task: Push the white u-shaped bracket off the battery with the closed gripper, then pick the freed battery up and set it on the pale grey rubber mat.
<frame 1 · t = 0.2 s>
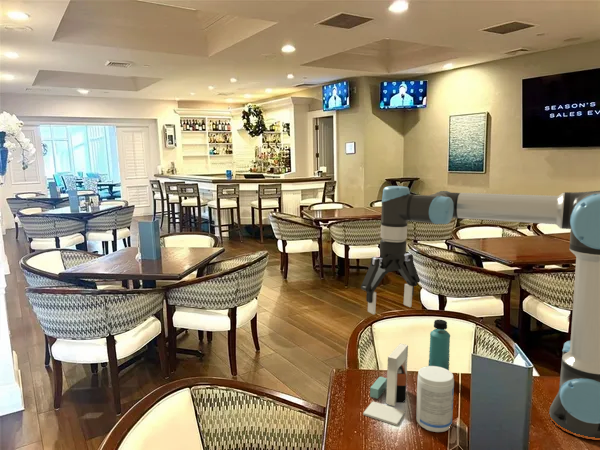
hand: (389, 309, 133), 28 cm above the table, tool pointing down, fingers open, 13 cm apart
supplement tub: (433, 423, 124), on the table
battery: (396, 397, 137), on the table
beverage bottle: (437, 379, 148), on the table
mat: (384, 413, 128), on the table
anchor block: (378, 391, 139), on the table
white u-shaped bracket: (397, 373, 135), point 8 cm above the table, slide at 0.0 cm
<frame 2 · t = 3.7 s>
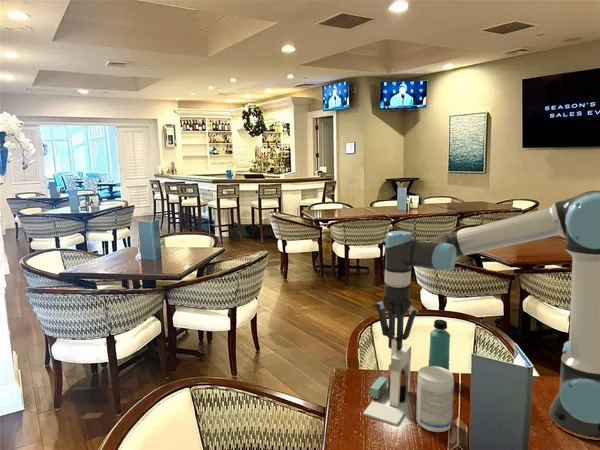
hand: (394, 358, 135), 12 cm above the table, tool pointing down, fingers closed
white u-shaped bracket: (400, 374, 135), point 8 cm above the table, slide at 1.1 cm, touching gripper
everything else where it was.
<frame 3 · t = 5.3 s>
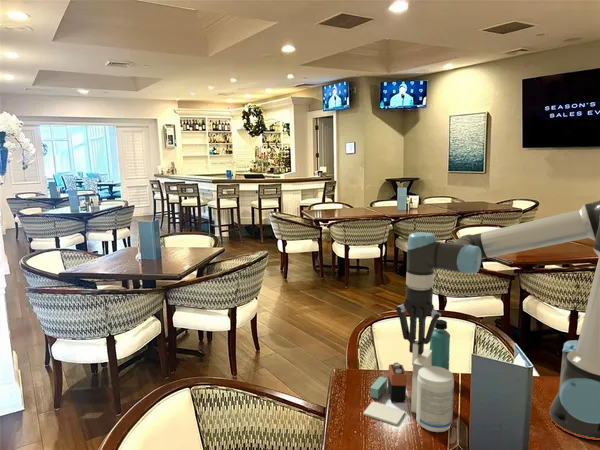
hand: (415, 363, 132), 12 cm above the table, tool pointing down, fingers closed
white u-shaped bracket: (421, 380, 132), point 8 cm above the table, slide at 7.4 cm, touching gripper
everything else where it was.
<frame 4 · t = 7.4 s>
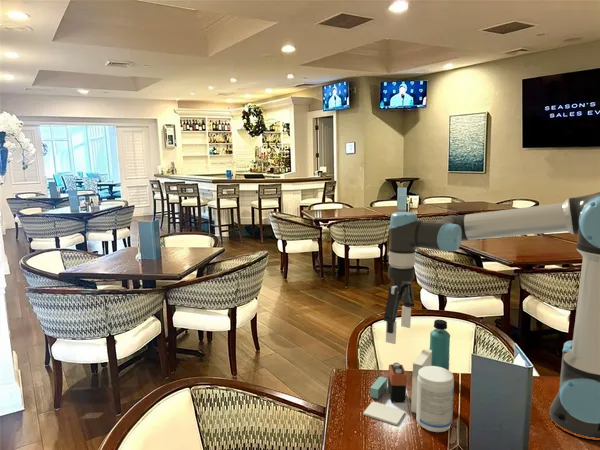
hand: (398, 334, 133), 20 cm above the table, tool pointing down, fingers open, 13 cm apart
white u-shaped bracket: (421, 380, 132), point 8 cm above the table, slide at 7.5 cm
everything else where it was.
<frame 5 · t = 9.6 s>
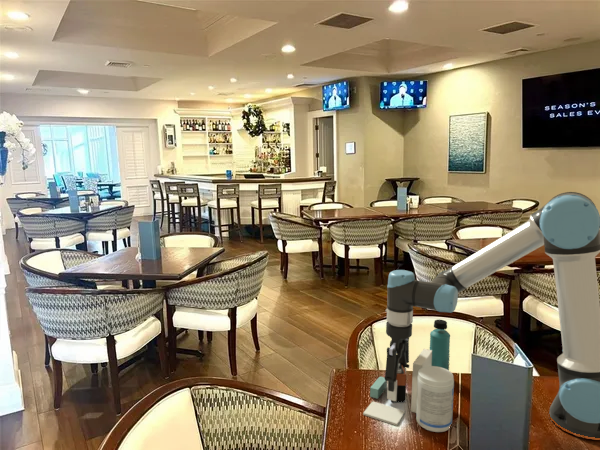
hand: (396, 393, 136), 1 cm above the table, tool pointing down, fingers closed on battery, 8 cm apart
battery: (396, 397, 137), on the table, touching gripper
everything else where it was.
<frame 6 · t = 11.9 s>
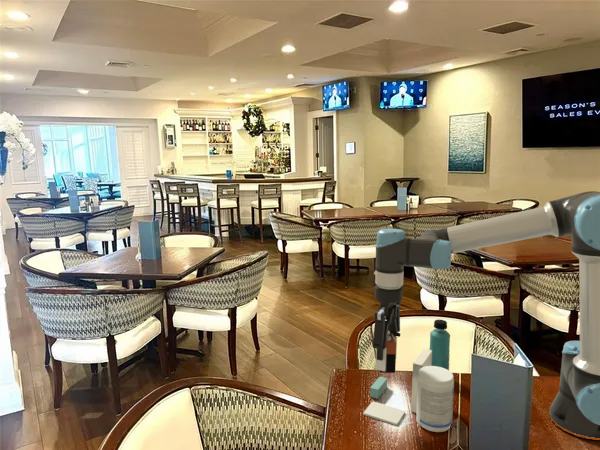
hand: (386, 363, 126), 15 cm above the table, tool pointing down, fingers closed on battery, 8 cm apart
battery: (385, 368, 126), point 14 cm above the table, touching gripper
everything else where it was.
when the fingers open (3 cm above the table, at t = 14.5 s): battery drops 1 cm, resting on mat.
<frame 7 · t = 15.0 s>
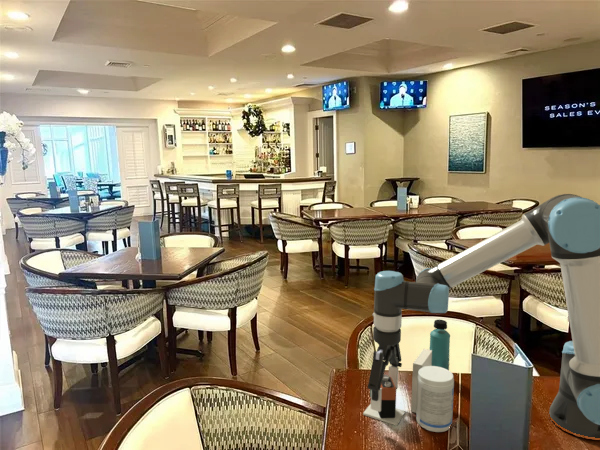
hand: (384, 398, 127), 5 cm above the table, tool pointing down, fingers open, 13 cm apart
battery: (385, 412, 128), resting on mat
everything else where it was.
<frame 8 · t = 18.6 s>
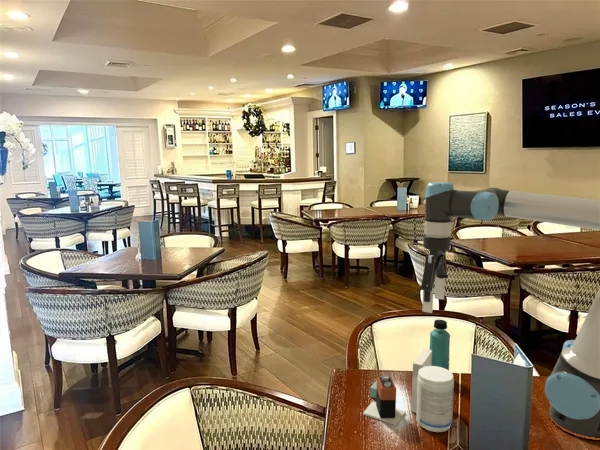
hand: (433, 305, 134), 29 cm above the table, tool pointing down, fingers open, 13 cm apart
nothing on the table moved.
at the end: white u-shaped bracket slide at 7.5 cm; battery inside the target area on the mat (0.4 cm from its centre), point 0.4 cm above the mat's base; the gripper is holding nothing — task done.
